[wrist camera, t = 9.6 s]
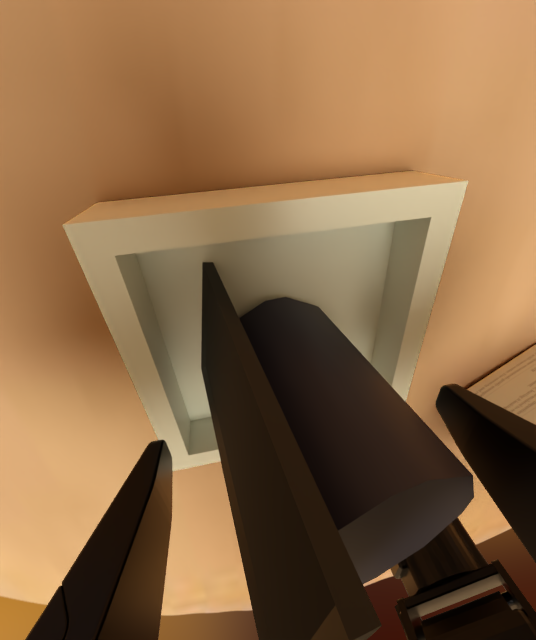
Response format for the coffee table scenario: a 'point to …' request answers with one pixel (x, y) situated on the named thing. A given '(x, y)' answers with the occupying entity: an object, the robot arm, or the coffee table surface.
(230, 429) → the speaker
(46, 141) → the coffee table surface
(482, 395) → the skincare box
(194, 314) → the tray
